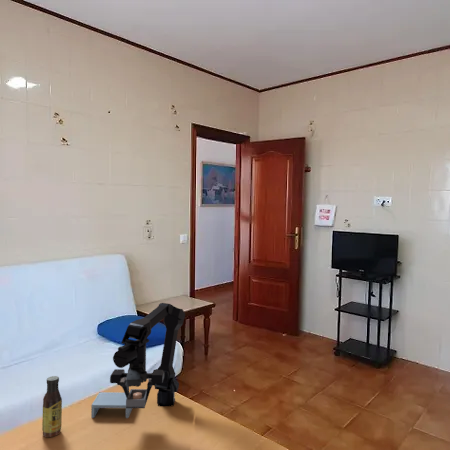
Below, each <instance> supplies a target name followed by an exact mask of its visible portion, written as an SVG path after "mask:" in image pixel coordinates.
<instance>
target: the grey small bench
mask: <svg viewBox="0 0 450 450" xmlns="http://www.w3.org/2000/svg"><path fill="white" fill-rule="evenodd" d="M126 399H127V398H126V395H125V392H120V391H119V392H117V391H116V392H114V391H113V392H111V391H110V392H105V391H104V392H100V391H99V393H98V394H97V395H96V397H95V399H94V400H93V402H92V403H91V405H90V407H91V418H92V419H94V418H96V415H97V414H98V412H99V410H100V408H101V409H105V408H106V409H108V408H109V409H125V419H129V417H130V415H131V413H132V411H133V408H126Z"/></svg>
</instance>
